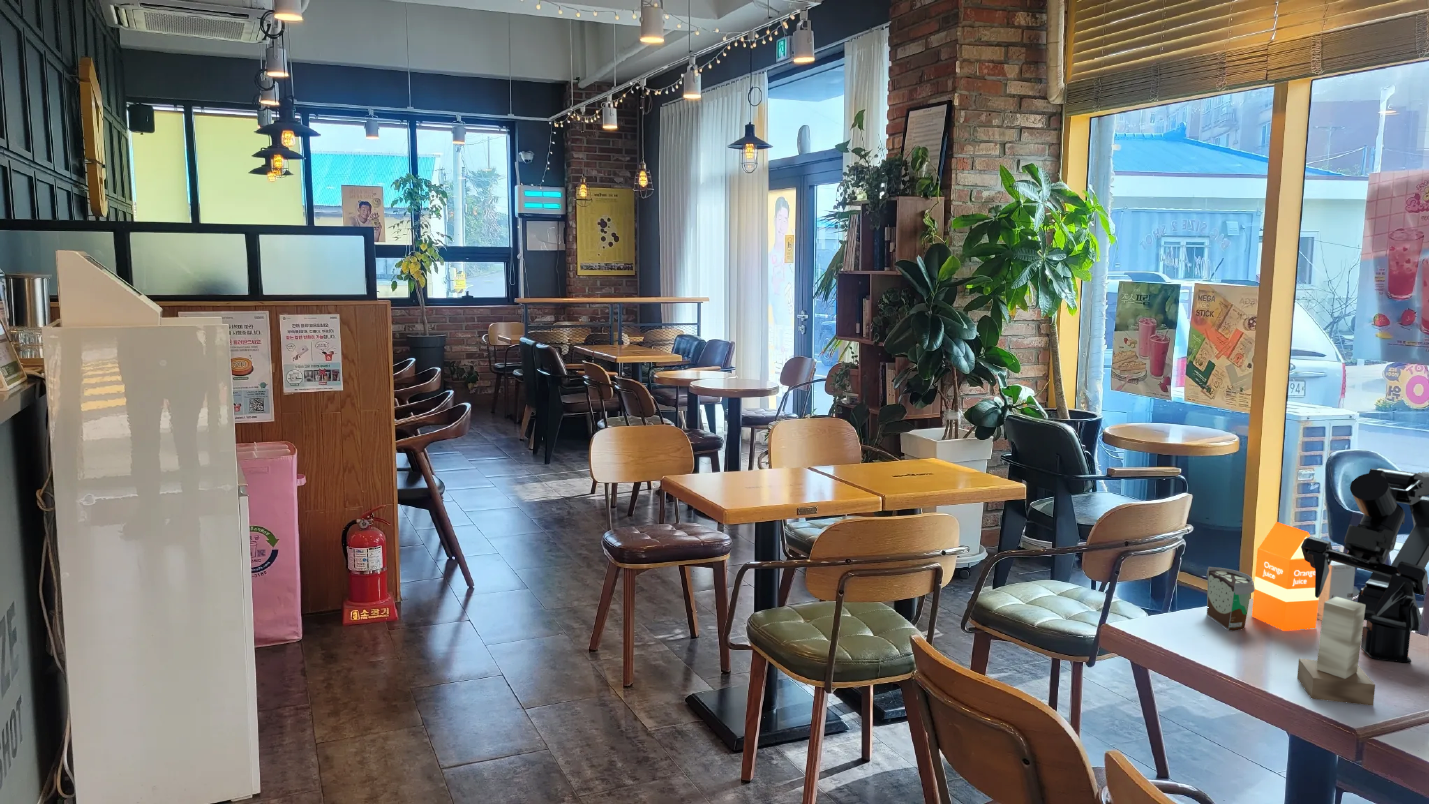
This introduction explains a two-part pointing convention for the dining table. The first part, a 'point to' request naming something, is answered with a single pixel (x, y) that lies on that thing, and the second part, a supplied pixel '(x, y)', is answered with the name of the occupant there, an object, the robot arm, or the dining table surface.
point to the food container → (1228, 597)
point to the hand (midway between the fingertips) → (1345, 605)
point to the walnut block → (1335, 684)
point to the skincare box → (1336, 585)
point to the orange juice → (1284, 581)
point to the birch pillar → (1340, 637)
